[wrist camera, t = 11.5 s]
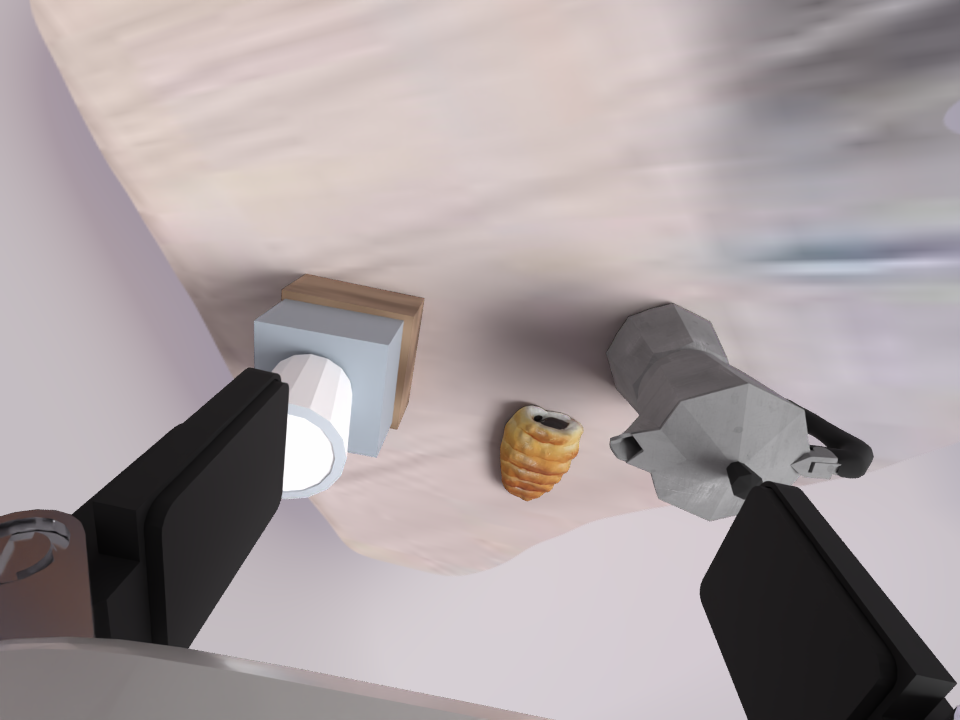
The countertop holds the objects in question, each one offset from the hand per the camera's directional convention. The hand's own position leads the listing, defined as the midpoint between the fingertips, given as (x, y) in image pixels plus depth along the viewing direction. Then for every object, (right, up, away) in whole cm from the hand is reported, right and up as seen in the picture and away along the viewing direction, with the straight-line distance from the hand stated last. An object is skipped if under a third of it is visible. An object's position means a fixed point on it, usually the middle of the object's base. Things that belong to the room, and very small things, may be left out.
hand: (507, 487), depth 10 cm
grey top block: (-11, +2, +30) cm, 32 cm away
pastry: (+5, -5, +38) cm, 38 cm away
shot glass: (-12, +1, +25) cm, 28 cm away
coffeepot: (+16, +3, +33) cm, 37 cm away
